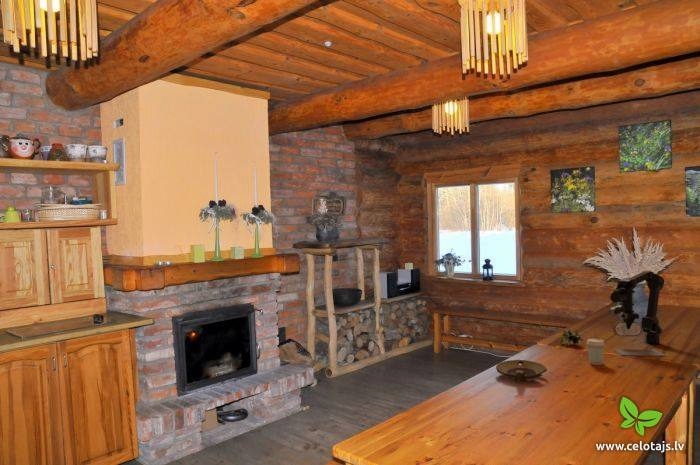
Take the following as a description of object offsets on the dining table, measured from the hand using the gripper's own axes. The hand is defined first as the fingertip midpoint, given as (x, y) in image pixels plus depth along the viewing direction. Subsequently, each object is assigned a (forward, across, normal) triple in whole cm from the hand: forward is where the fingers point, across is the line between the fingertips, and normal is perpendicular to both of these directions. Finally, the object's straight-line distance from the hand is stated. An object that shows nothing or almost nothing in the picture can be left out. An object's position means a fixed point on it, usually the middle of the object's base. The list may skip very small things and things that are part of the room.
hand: (627, 328), depth 296 cm
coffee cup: (+11, +36, -28) cm, 47 cm away
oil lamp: (+11, +64, -71) cm, 96 cm away
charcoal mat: (+11, +13, +1) cm, 17 cm away
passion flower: (+11, -4, -30) cm, 32 cm away
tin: (+4, 0, 0) cm, 5 cm away
